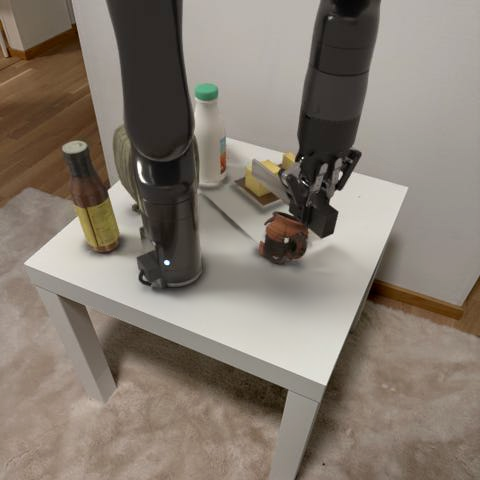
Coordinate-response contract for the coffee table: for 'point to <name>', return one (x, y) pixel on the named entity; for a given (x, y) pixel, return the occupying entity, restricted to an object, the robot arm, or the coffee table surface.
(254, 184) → the butter stick
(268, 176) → the knife
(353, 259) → the coffee table surface
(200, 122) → the milk bottle
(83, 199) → the sauce bottle
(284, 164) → the butter slice
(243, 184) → the butter board
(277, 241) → the pottery mug
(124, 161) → the tabletop clock
